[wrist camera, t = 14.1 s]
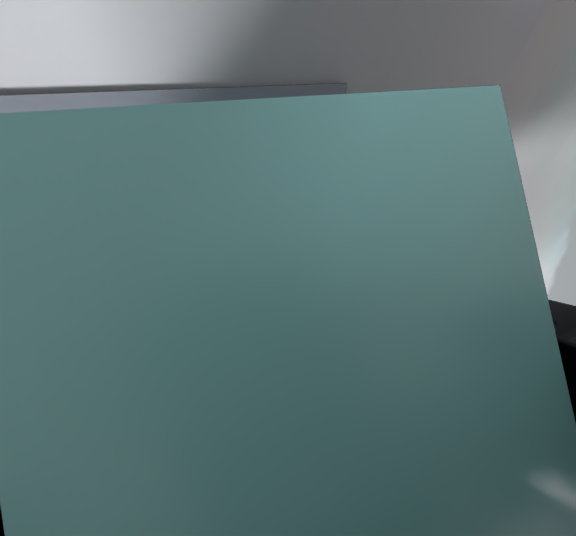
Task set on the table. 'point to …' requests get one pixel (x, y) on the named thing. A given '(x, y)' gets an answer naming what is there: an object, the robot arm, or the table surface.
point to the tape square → (158, 97)
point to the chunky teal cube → (277, 322)
